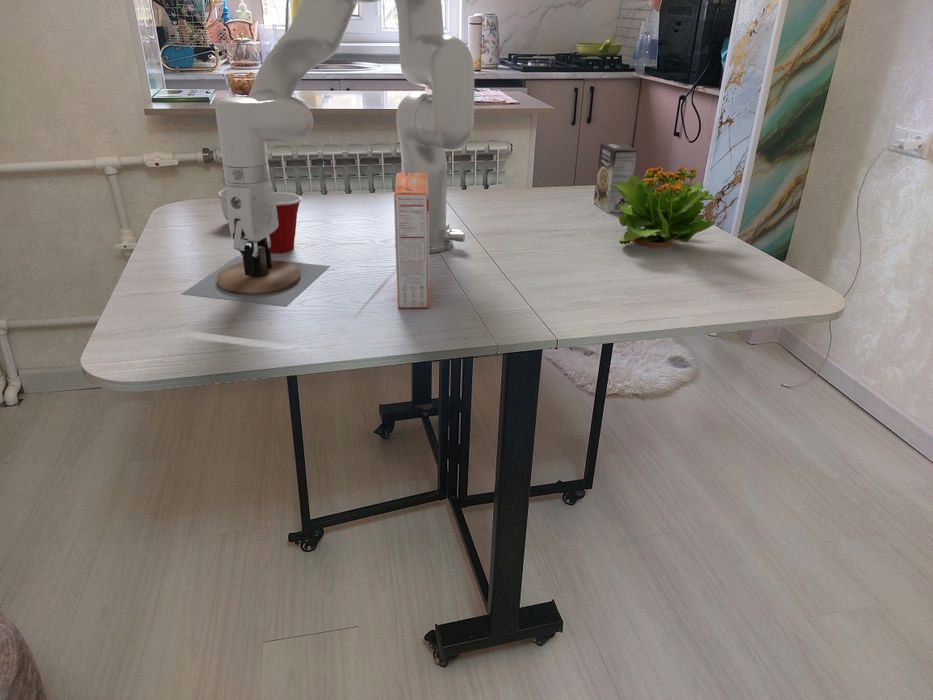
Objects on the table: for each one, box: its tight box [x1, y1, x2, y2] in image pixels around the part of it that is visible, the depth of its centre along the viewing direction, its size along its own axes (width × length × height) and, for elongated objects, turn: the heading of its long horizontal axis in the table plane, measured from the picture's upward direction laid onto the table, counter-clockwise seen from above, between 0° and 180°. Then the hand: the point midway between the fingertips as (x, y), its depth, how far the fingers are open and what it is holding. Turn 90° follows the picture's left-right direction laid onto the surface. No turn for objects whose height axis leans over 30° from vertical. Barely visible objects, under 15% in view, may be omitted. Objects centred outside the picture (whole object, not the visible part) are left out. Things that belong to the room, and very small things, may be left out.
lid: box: [217, 246, 301, 295], centre depth 125 cm, size 15×15×6 cm
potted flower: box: [611, 166, 717, 249], centre depth 152 cm, size 25×24×18 cm
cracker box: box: [393, 171, 430, 309], centre depth 120 cm, size 14×6×21 cm, turn 3°
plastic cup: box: [268, 191, 303, 254], centre depth 140 cm, size 11×11×12 cm
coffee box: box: [593, 142, 638, 212], centre depth 176 cm, size 9×6×16 cm
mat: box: [181, 255, 331, 307], centre depth 127 cm, size 20×20×1 cm
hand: (258, 271), depth 126 cm, fingers closed on lid, 3 cm apart
